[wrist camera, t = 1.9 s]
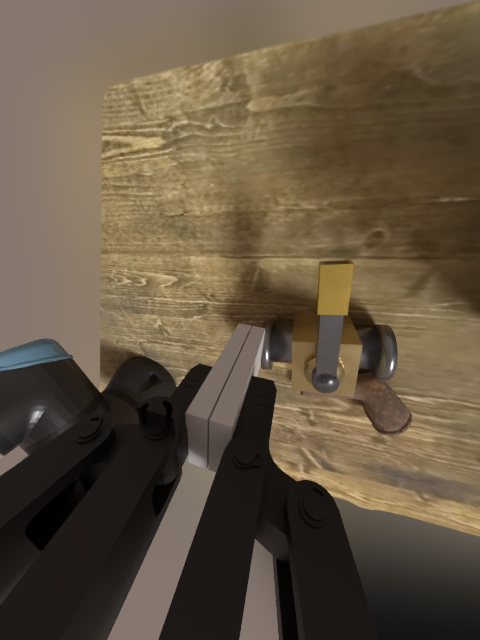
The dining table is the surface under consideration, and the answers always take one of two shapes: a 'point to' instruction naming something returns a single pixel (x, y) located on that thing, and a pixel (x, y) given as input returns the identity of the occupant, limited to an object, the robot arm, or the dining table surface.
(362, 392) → the pipe
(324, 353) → the lever
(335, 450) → the dining table surface
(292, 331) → the valve body
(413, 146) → the dining table surface
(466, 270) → the dining table surface
